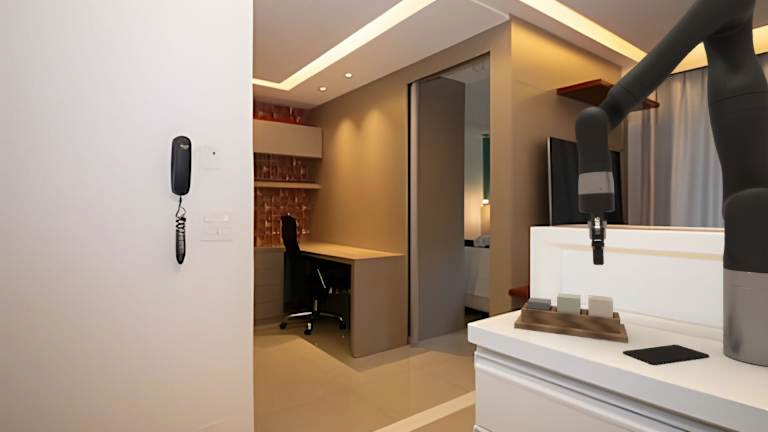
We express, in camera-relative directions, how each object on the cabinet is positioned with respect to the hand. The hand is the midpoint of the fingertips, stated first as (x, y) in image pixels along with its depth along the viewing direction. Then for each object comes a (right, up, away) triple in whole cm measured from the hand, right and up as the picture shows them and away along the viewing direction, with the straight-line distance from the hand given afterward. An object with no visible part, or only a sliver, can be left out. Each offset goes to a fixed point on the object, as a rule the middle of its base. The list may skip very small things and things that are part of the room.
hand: (598, 264), depth 92 cm
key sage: (-6, -13, +3) cm, 14 cm away
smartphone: (+5, -17, -15) cm, 23 cm away
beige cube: (0, -13, 0) cm, 13 cm away
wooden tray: (-6, -16, +3) cm, 18 cm away
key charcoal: (-11, -15, +6) cm, 20 cm away
